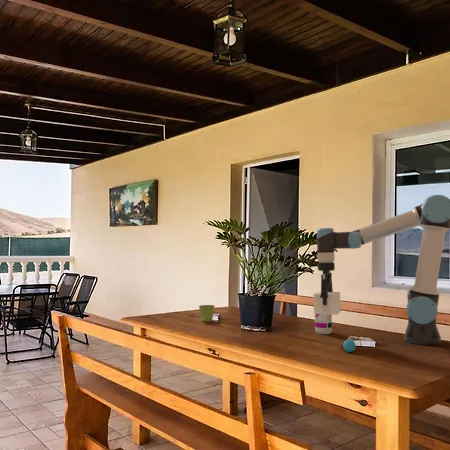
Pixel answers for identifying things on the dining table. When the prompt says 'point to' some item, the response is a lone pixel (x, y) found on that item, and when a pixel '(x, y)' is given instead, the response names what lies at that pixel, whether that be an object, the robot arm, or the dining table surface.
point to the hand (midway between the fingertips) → (327, 310)
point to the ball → (349, 345)
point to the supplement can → (323, 323)
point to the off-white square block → (332, 303)
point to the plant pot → (206, 312)
